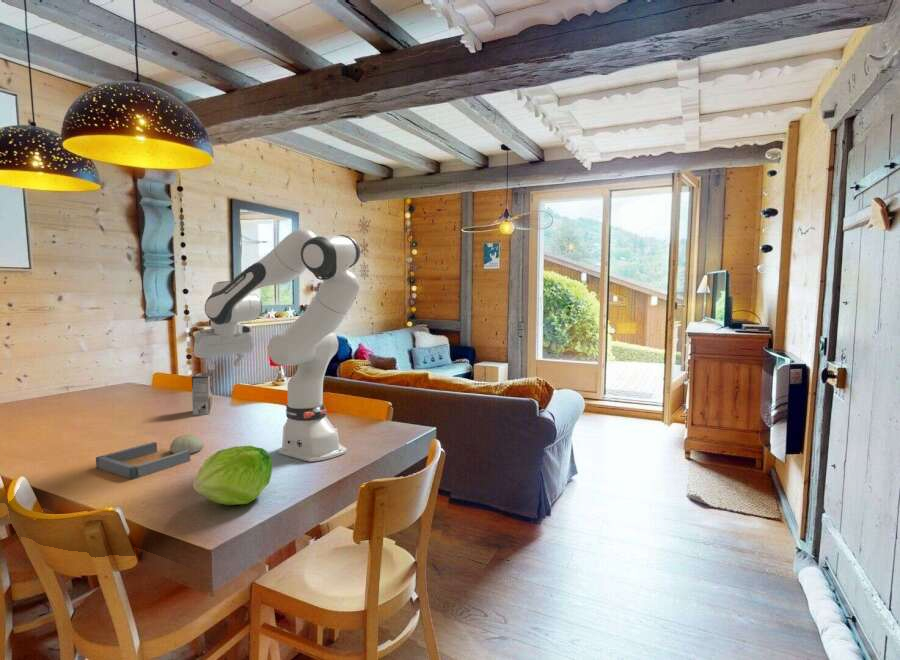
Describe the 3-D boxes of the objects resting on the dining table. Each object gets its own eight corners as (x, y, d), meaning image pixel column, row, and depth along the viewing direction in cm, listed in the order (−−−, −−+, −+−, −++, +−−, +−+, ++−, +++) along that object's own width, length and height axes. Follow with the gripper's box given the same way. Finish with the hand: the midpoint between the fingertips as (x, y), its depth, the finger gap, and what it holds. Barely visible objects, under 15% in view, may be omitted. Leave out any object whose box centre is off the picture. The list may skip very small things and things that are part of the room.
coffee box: (196, 410, 203) (195, 372, 201) (213, 409, 205) (212, 372, 203) (192, 415, 194) (190, 376, 193) (209, 414, 196) (208, 376, 195)
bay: (154, 450, 150) (153, 441, 150) (190, 460, 142) (189, 450, 142) (96, 467, 136) (95, 457, 136) (132, 479, 128) (132, 468, 127)
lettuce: (175, 516, 108) (173, 455, 110) (249, 497, 125) (246, 444, 128) (217, 514, 101) (214, 449, 103) (289, 494, 119) (285, 439, 121)
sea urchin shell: (194, 438, 158) (201, 424, 154) (202, 458, 155) (210, 445, 151) (163, 444, 151) (170, 430, 147) (171, 466, 148) (178, 452, 143)
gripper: (200, 331, 151) (200, 373, 153) (256, 327, 169) (255, 365, 170) (189, 329, 155) (189, 370, 156) (245, 325, 172) (244, 362, 174)
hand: (224, 367), depth 164 cm, fingers open, 8 cm apart
